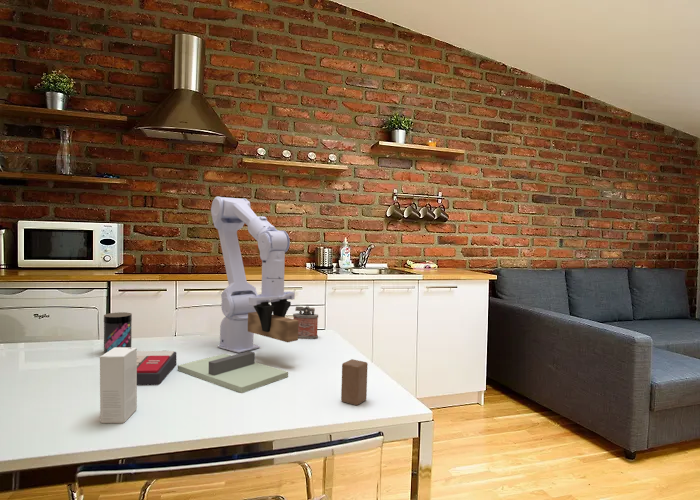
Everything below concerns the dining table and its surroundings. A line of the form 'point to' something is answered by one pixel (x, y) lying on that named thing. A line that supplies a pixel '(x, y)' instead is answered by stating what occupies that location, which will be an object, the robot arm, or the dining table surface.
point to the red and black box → (154, 366)
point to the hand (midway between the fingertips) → (271, 329)
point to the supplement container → (117, 330)
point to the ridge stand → (234, 371)
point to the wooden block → (354, 382)
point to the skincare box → (118, 384)
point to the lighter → (306, 323)
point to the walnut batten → (275, 327)
